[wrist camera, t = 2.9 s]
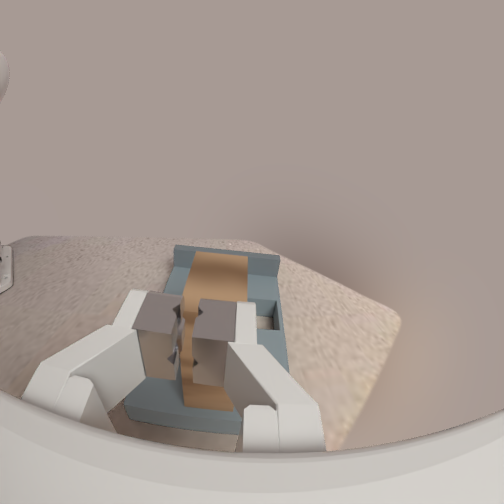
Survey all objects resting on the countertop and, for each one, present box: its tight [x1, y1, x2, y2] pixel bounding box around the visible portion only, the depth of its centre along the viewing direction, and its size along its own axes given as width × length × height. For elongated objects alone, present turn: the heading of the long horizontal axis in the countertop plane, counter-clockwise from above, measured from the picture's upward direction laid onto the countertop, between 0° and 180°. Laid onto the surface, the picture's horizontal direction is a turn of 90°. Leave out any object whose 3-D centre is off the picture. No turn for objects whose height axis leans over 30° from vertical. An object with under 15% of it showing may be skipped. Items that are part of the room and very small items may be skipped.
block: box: [180, 251, 248, 412], centre depth 25 cm, size 8×4×12 cm, turn 0°
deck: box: [124, 245, 289, 435], centre depth 35 cm, size 26×16×6 cm, turn 0°
